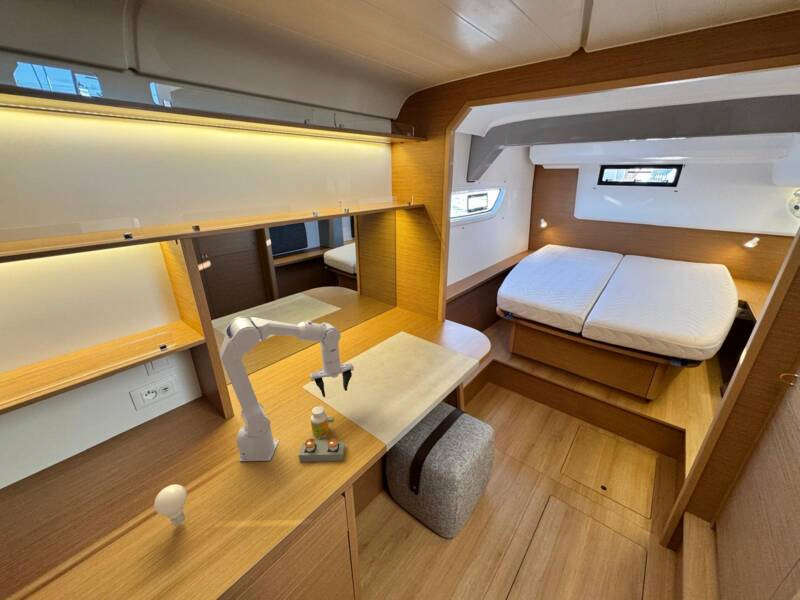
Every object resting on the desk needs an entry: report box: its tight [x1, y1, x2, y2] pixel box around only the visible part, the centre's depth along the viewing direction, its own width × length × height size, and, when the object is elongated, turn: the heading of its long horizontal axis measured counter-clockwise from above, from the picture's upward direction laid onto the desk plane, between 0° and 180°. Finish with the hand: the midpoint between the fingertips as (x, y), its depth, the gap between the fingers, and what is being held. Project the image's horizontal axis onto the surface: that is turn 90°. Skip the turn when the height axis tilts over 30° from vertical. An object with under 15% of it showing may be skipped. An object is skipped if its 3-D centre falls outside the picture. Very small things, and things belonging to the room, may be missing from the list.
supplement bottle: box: [310, 405, 330, 440], centre depth 104 cm, size 5×5×10 cm
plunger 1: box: [304, 438, 316, 453], centre depth 96 cm, size 3×3×4 cm
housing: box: [298, 416, 346, 462], centre depth 103 cm, size 13×18×2 cm
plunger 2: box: [327, 437, 339, 452], centre depth 96 cm, size 3×3×4 cm
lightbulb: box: [153, 483, 188, 527], centre depth 77 cm, size 6×6×11 cm
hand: (334, 392), depth 110 cm, fingers open, 7 cm apart
